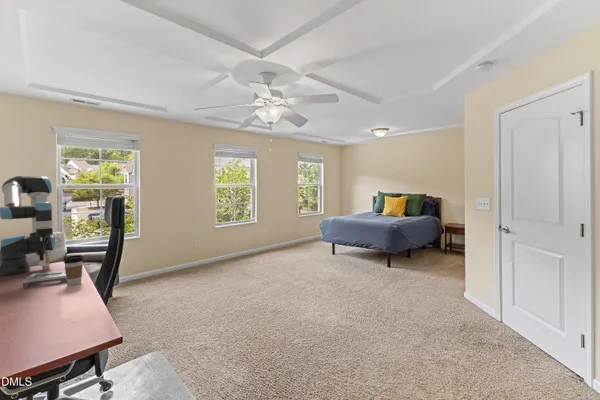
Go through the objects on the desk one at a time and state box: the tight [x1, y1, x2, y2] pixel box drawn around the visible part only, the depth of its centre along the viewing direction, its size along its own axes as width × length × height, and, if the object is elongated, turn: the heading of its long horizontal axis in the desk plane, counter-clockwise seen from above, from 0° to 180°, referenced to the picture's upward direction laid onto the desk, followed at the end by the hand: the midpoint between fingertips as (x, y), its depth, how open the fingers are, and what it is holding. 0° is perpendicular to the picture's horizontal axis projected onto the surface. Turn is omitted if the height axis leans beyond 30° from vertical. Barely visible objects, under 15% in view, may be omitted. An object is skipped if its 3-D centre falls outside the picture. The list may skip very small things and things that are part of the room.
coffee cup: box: [63, 254, 84, 287], centre depth 160 cm, size 8×8×15 cm
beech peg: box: [41, 250, 51, 277], centre depth 175 cm, size 6×6×16 cm
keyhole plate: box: [21, 269, 67, 289], centre depth 166 cm, size 16×20×4 cm
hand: (45, 263), depth 175 cm, fingers open, 13 cm apart
